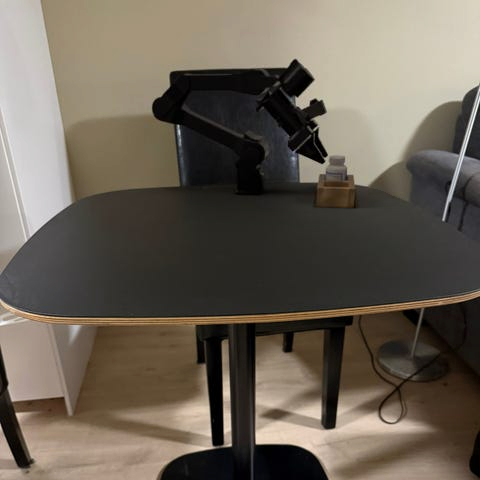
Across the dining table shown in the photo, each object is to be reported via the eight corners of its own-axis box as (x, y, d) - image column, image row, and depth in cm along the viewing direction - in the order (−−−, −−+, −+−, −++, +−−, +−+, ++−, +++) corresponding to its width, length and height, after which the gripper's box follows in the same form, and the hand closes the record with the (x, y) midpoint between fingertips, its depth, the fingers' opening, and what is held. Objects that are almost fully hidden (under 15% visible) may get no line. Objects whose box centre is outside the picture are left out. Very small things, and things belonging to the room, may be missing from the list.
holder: (316, 206, 117) (317, 187, 114) (318, 190, 131) (319, 173, 129) (353, 207, 115) (355, 188, 113) (351, 191, 129) (353, 174, 127)
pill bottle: (334, 191, 130) (336, 154, 125) (349, 195, 126) (353, 156, 121) (319, 195, 127) (322, 156, 122) (335, 198, 123) (338, 159, 118)
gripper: (304, 89, 108) (349, 142, 111) (312, 85, 124) (351, 131, 127) (268, 125, 113) (312, 175, 116) (281, 117, 129) (319, 161, 132)
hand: (325, 159), depth 123 cm, fingers open, 9 cm apart
